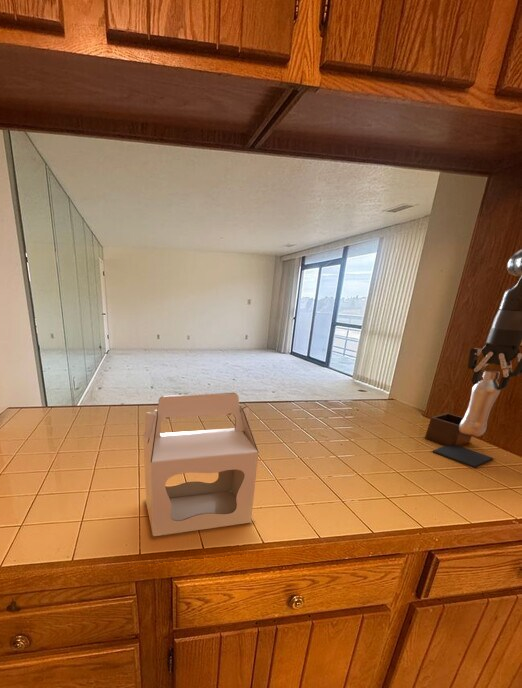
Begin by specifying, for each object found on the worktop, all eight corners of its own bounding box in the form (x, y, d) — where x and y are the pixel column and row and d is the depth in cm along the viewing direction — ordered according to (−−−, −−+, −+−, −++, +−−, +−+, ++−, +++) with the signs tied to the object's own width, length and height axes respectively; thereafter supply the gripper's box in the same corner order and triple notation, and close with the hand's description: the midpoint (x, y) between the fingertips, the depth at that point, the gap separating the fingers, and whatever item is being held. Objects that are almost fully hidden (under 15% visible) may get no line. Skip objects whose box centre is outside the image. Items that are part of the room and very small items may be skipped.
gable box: (232, 491, 88) (240, 383, 77) (252, 522, 76) (265, 401, 65) (144, 501, 83) (140, 388, 72) (151, 537, 71) (147, 408, 60)
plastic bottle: (456, 429, 112) (477, 368, 105) (482, 434, 109) (505, 371, 101) (456, 435, 107) (477, 371, 100) (483, 440, 104) (507, 375, 96)
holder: (440, 433, 128) (447, 412, 125) (469, 442, 121) (477, 421, 118) (424, 438, 124) (431, 417, 120) (453, 448, 116) (461, 426, 113)
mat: (451, 445, 118) (452, 443, 118) (492, 459, 109) (493, 457, 109) (432, 452, 113) (432, 450, 113) (474, 467, 103) (474, 466, 103)
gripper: (547, 329, 91) (523, 391, 98) (484, 324, 103) (466, 380, 109) (536, 331, 88) (511, 394, 94) (472, 325, 99) (454, 382, 106)
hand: (487, 386), depth 102 cm, fingers closed on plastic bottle, 5 cm apart
